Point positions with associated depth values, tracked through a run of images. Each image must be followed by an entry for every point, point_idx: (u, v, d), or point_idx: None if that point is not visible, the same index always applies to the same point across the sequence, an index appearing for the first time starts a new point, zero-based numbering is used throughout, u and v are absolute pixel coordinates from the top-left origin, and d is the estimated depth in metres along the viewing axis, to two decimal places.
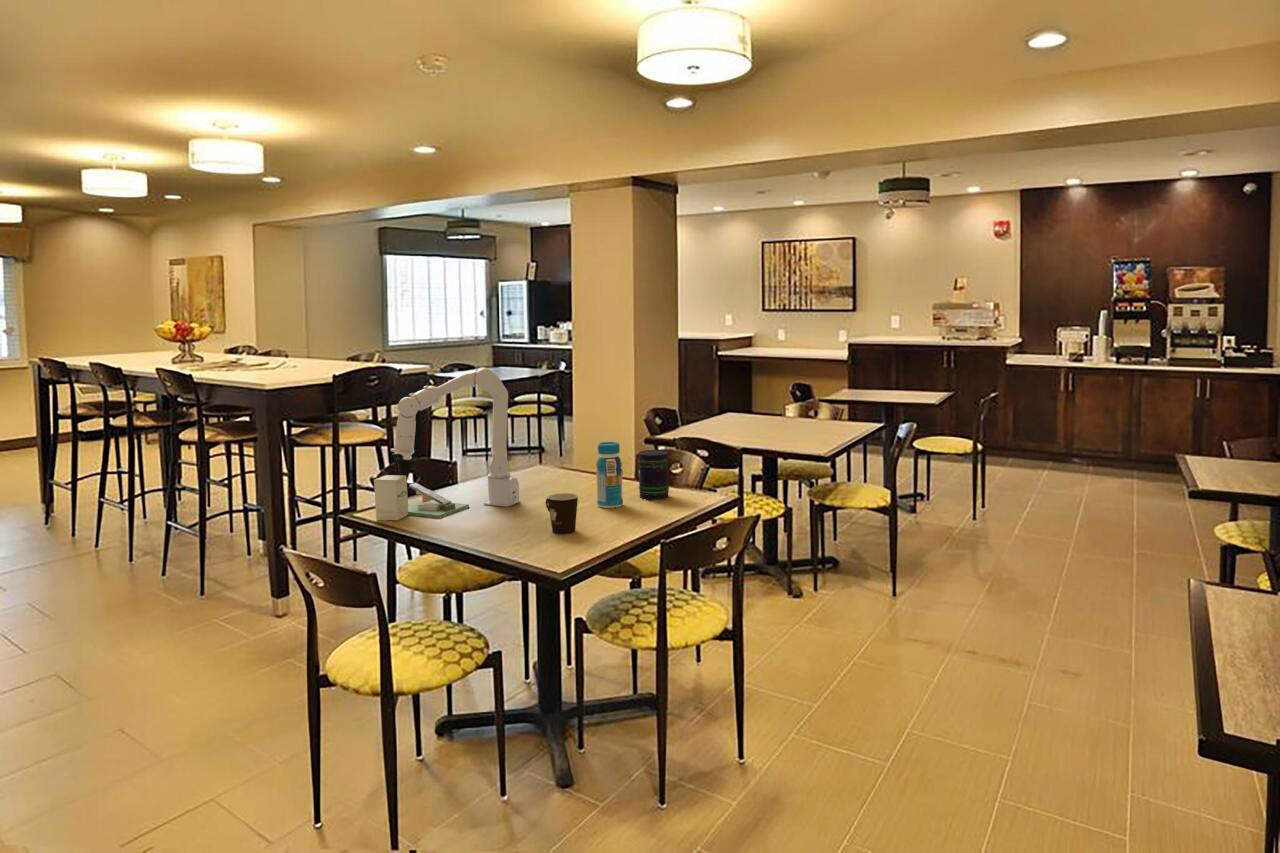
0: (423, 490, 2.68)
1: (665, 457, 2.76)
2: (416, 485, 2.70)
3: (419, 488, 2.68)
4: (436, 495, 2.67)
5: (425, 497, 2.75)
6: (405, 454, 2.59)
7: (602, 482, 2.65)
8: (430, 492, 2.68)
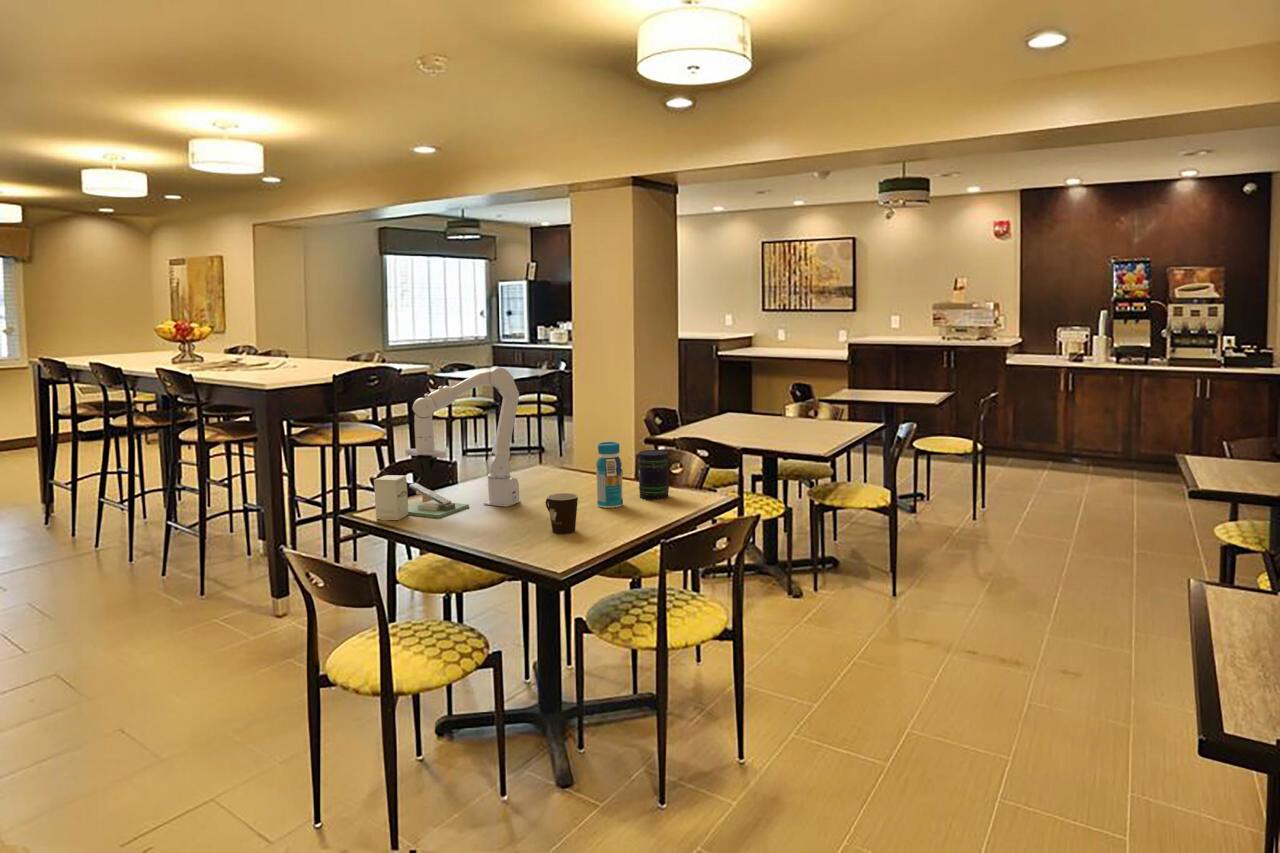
0: (423, 490, 2.68)
1: (665, 457, 2.76)
2: (416, 485, 2.70)
3: (419, 488, 2.68)
4: (436, 495, 2.67)
5: (425, 497, 2.75)
6: (442, 453, 2.62)
7: (602, 482, 2.65)
8: (430, 492, 2.68)
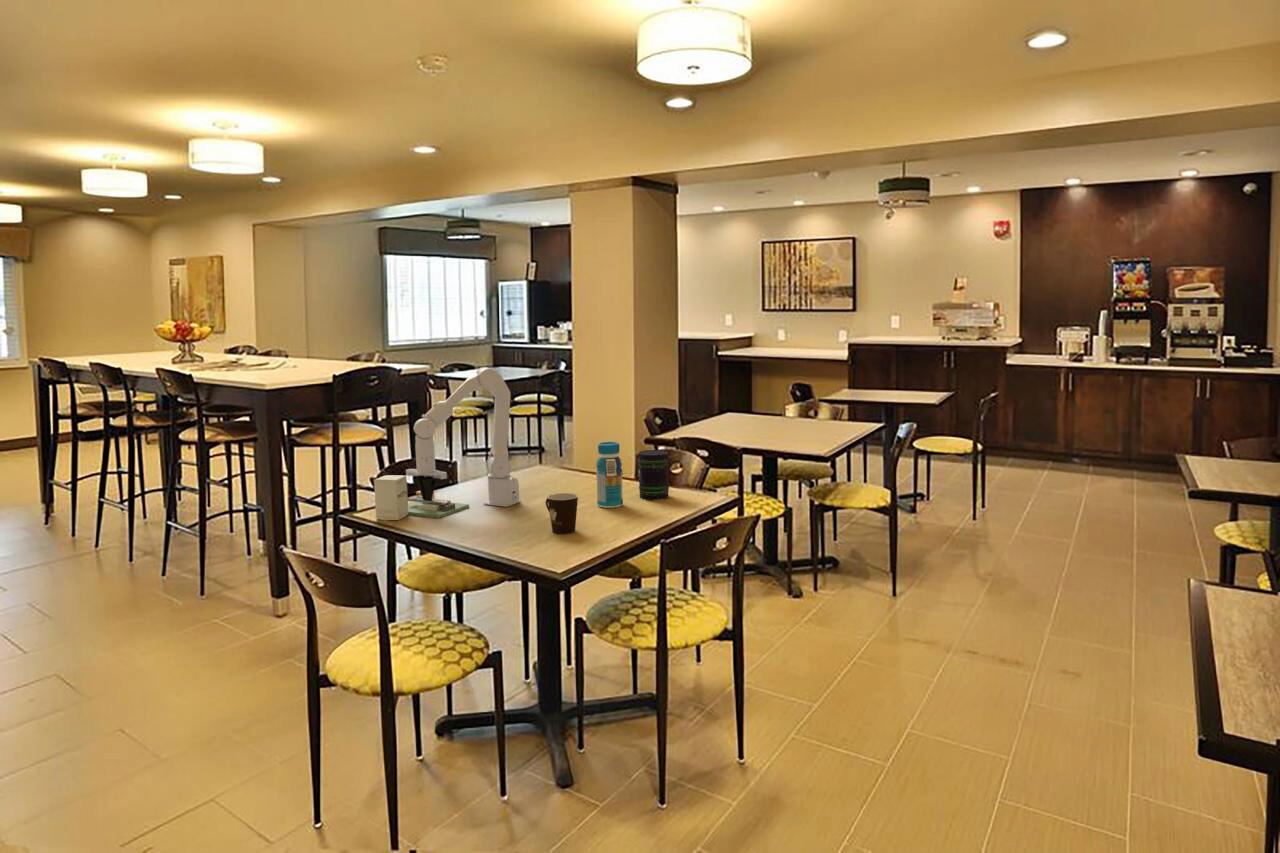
0: (421, 499, 2.68)
1: (665, 457, 2.76)
2: (414, 497, 2.71)
3: (417, 498, 2.69)
4: (435, 499, 2.68)
5: None
6: (443, 474, 2.63)
7: (602, 482, 2.65)
8: None
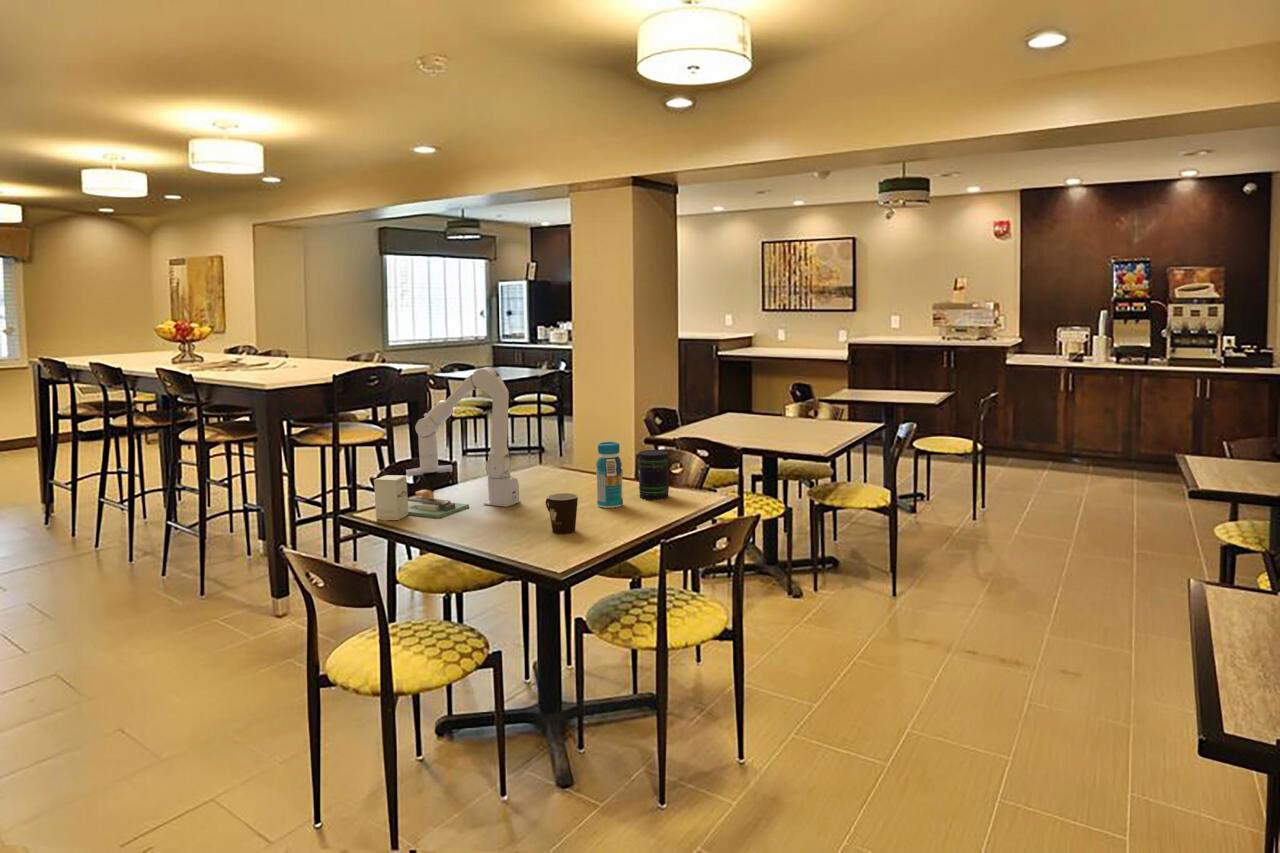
0: (421, 499, 2.68)
1: (665, 457, 2.76)
2: (414, 498, 2.71)
3: (417, 499, 2.69)
4: (435, 499, 2.68)
5: (424, 497, 2.75)
6: None
7: (602, 482, 2.65)
8: (429, 499, 2.68)
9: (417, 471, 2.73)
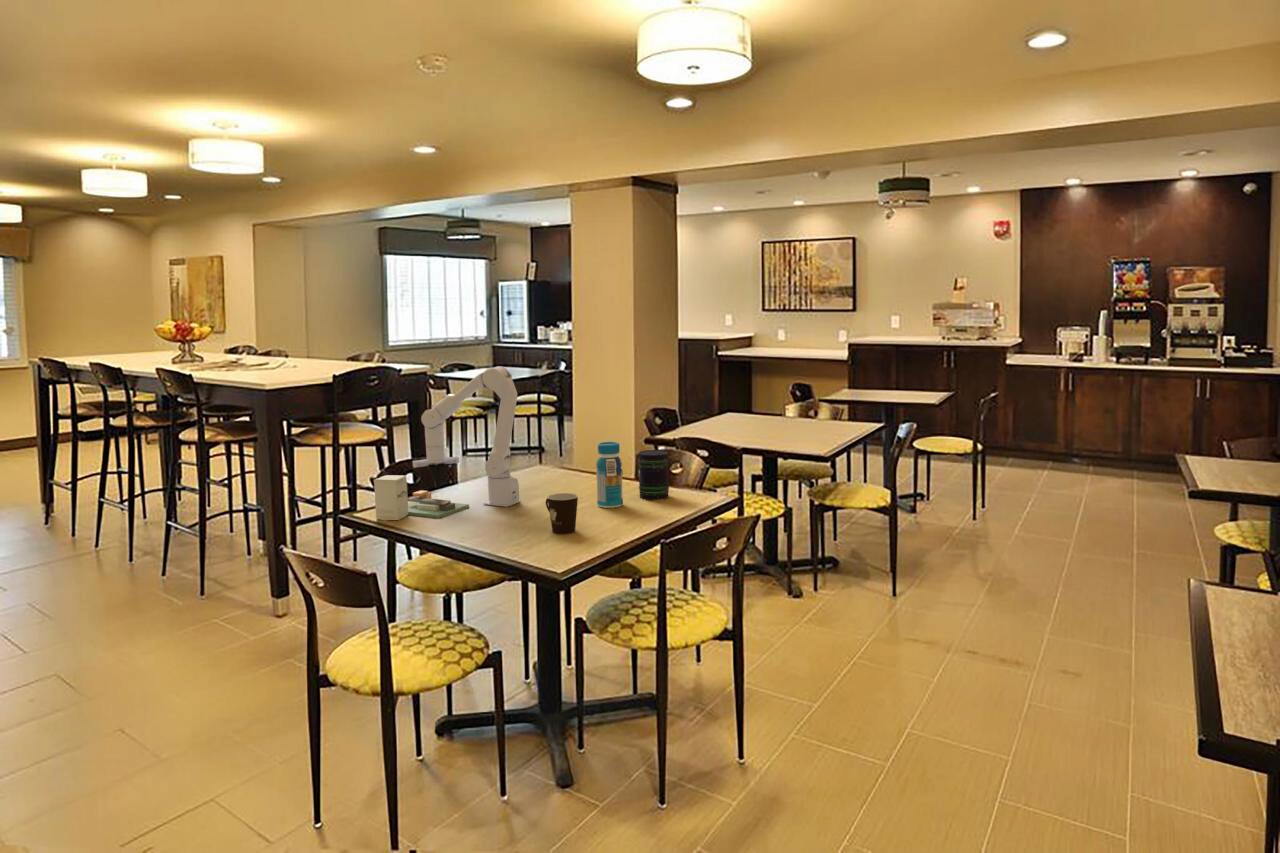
0: (421, 499, 2.68)
1: (665, 457, 2.76)
2: (414, 498, 2.71)
3: (417, 499, 2.69)
4: (435, 499, 2.68)
5: None
6: None
7: (602, 482, 2.65)
8: (429, 499, 2.68)
9: (423, 462, 2.73)
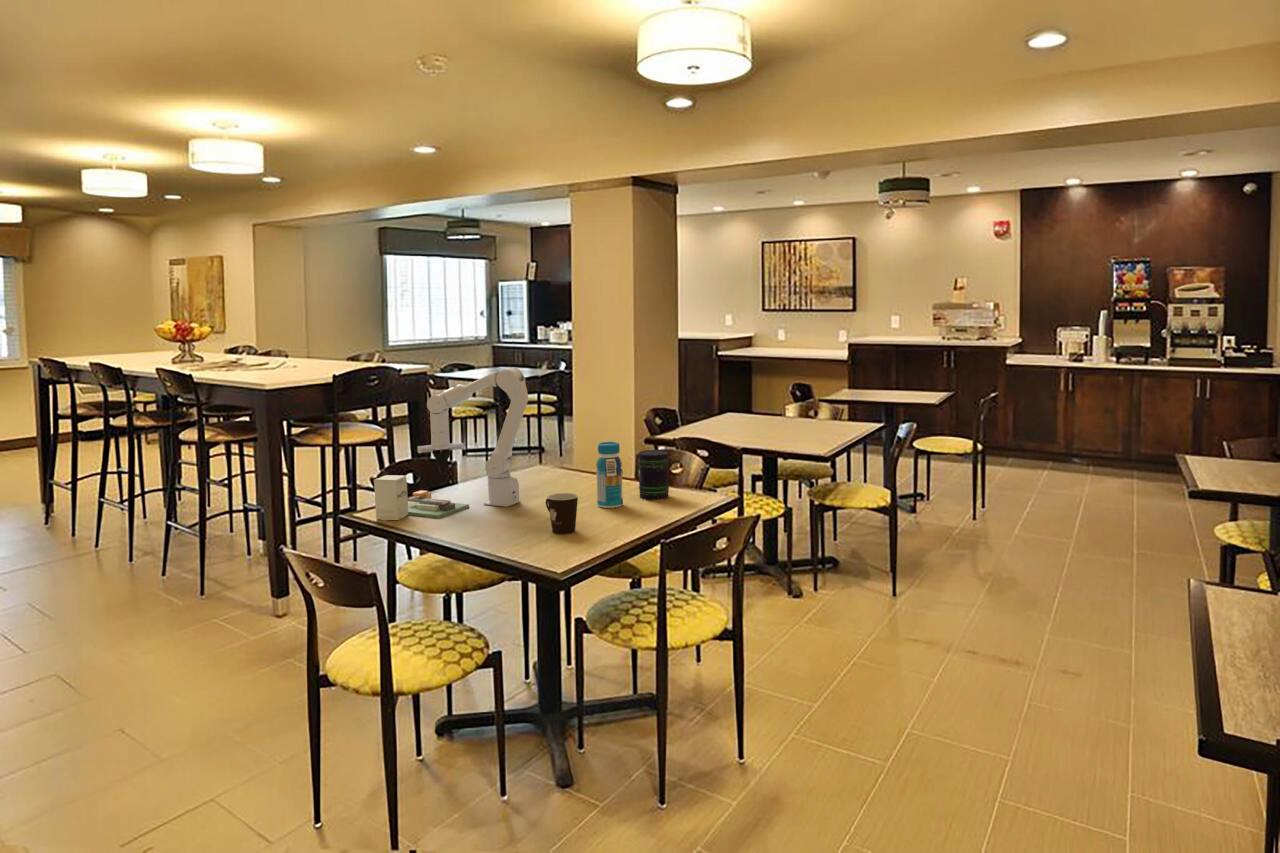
0: (421, 499, 2.68)
1: (665, 457, 2.76)
2: (414, 498, 2.71)
3: (417, 499, 2.69)
4: (435, 499, 2.68)
5: None
6: None
7: (602, 482, 2.65)
8: (429, 499, 2.68)
9: (428, 448, 2.73)
